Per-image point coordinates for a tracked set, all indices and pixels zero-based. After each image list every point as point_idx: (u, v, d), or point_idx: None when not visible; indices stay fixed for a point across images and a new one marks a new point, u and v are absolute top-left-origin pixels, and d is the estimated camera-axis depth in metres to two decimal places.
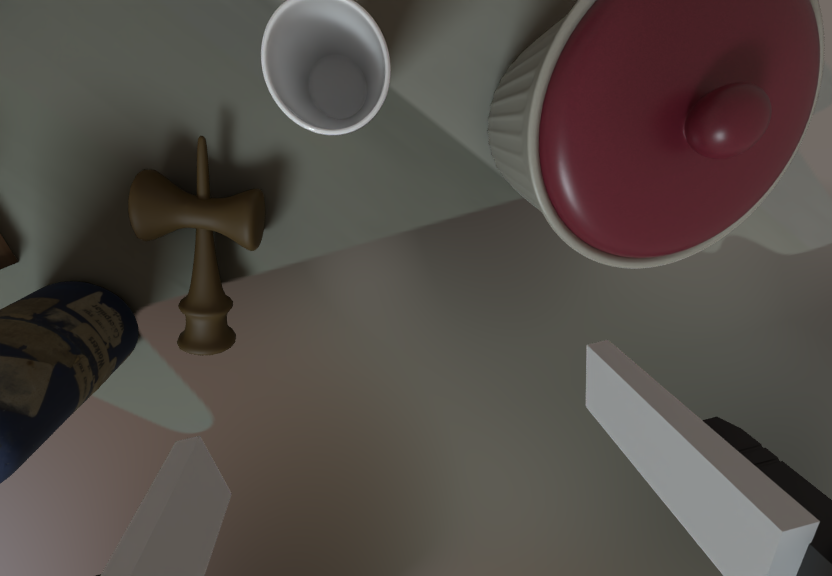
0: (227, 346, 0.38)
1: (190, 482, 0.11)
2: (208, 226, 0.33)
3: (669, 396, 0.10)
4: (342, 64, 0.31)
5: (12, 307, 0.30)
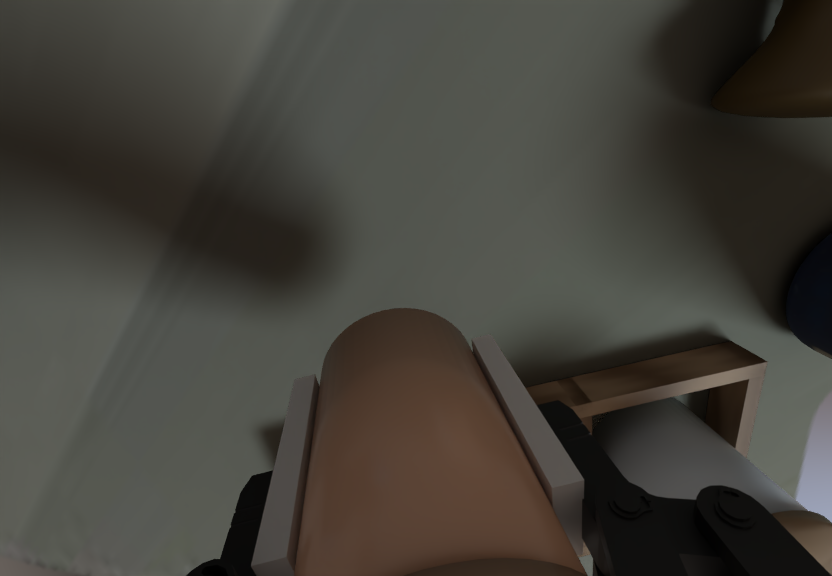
0: None
1: (315, 409, 0.13)
2: None
3: (520, 382, 0.12)
4: None
5: None
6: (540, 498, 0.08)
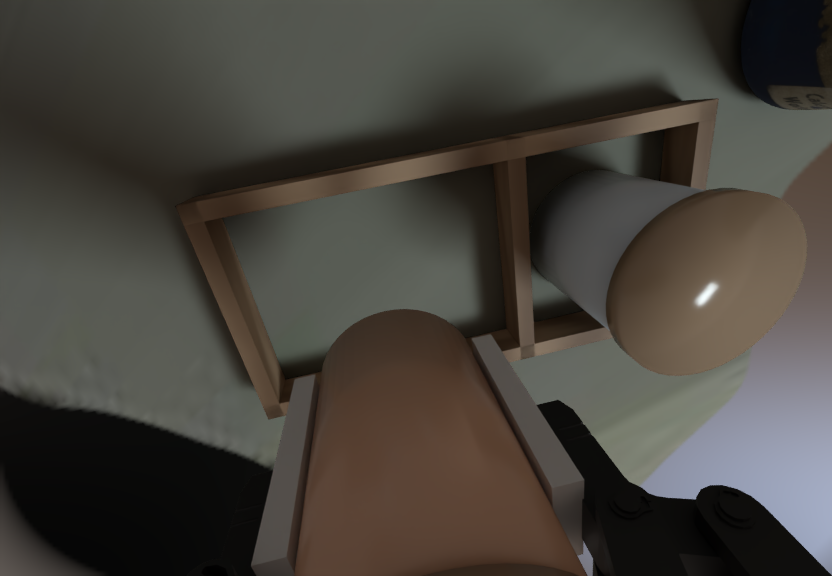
0: None
1: (315, 409, 0.13)
2: None
3: (520, 382, 0.12)
4: None
5: None
6: (542, 502, 0.08)
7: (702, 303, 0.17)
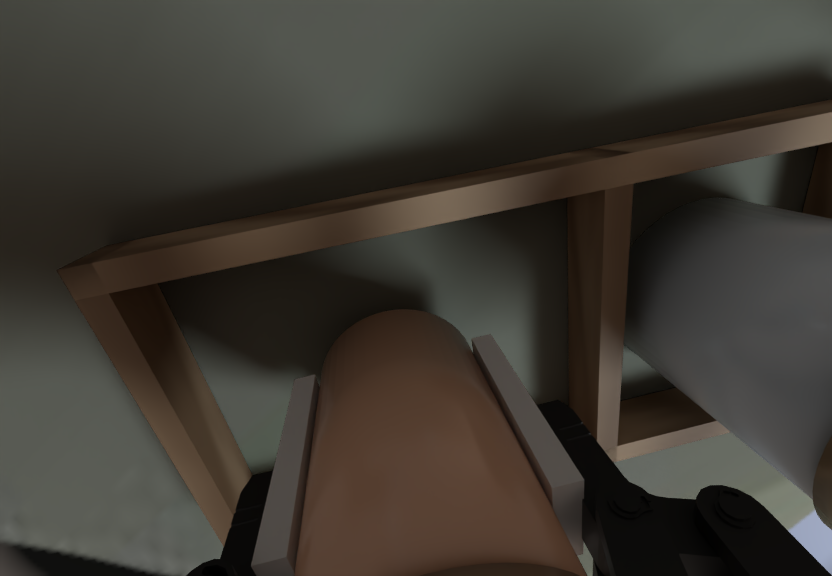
0: None
1: (315, 409, 0.13)
2: None
3: (520, 381, 0.12)
4: None
5: None
6: (541, 501, 0.08)
7: None
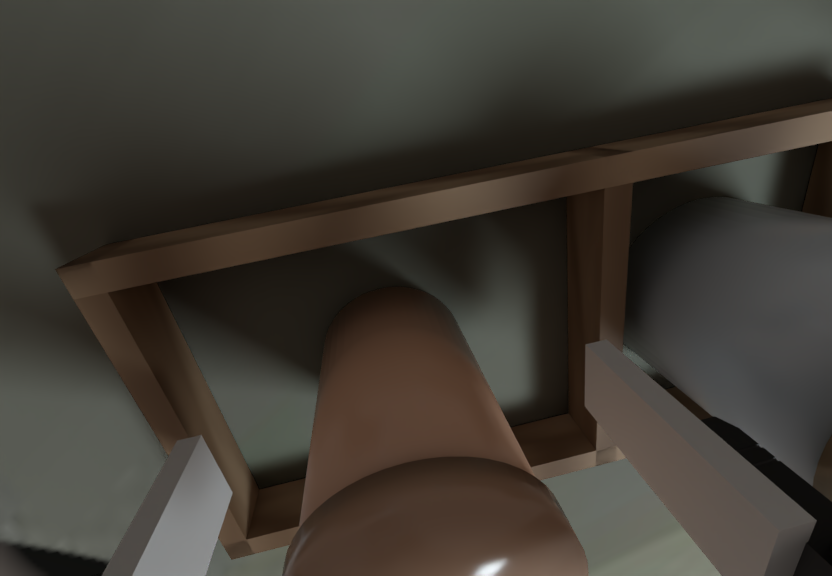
0: None
1: (192, 481, 0.11)
2: None
3: (668, 396, 0.10)
4: None
5: None
6: (505, 429, 0.10)
7: None
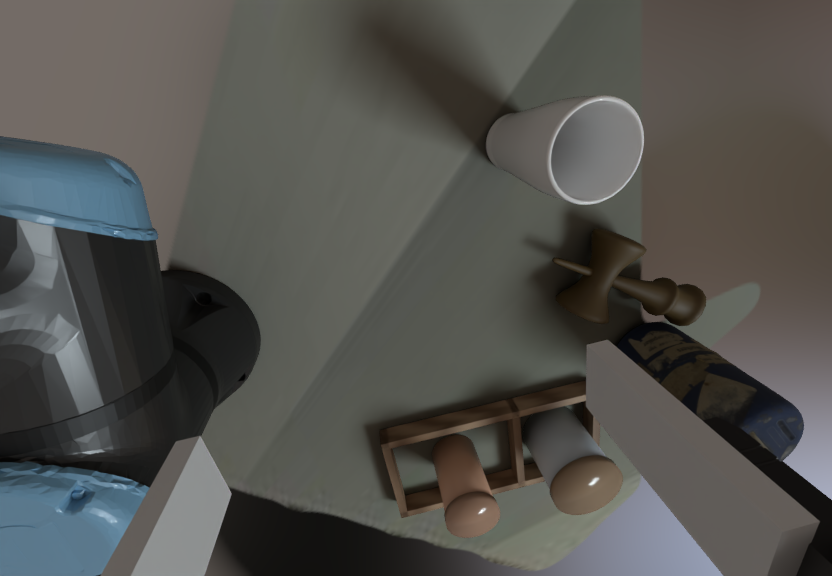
0: (701, 292, 0.44)
1: (190, 482, 0.11)
2: (616, 275, 0.41)
3: (669, 396, 0.10)
4: None
5: None
6: (485, 484, 0.46)
7: (584, 492, 0.45)
